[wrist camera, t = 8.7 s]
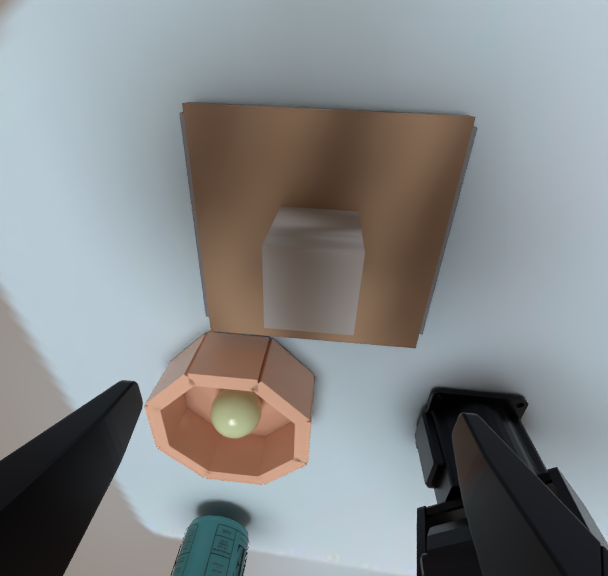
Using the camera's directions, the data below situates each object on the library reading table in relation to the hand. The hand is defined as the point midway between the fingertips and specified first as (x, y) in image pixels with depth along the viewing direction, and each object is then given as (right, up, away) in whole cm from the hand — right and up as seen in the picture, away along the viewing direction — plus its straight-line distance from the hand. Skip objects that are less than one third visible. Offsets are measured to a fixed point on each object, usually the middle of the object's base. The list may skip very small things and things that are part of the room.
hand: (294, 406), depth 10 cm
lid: (+1, +6, +10) cm, 12 cm away
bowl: (-4, -5, +17) cm, 18 cm away
